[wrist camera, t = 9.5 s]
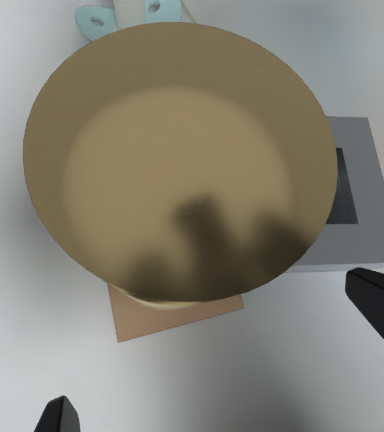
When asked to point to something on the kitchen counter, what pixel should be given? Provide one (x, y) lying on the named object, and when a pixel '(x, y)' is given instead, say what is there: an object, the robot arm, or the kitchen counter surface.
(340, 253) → the housing
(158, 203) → the gold metal cylinder
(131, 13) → the pacifier
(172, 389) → the kitchen counter surface
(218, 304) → the mat
